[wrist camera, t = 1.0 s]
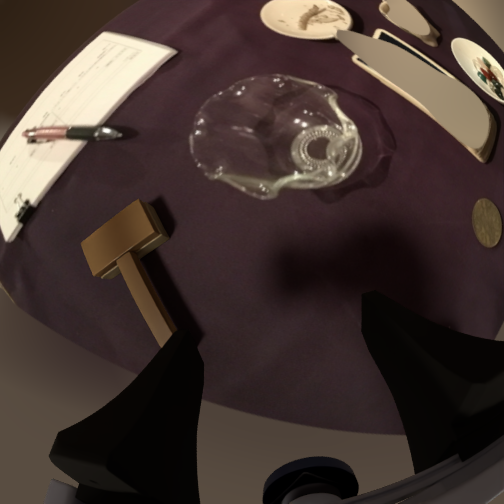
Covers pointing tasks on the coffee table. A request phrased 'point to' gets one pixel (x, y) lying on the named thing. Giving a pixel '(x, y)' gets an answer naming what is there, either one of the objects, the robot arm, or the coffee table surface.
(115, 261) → the brown t-shaped piece
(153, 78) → the coffee table surface
